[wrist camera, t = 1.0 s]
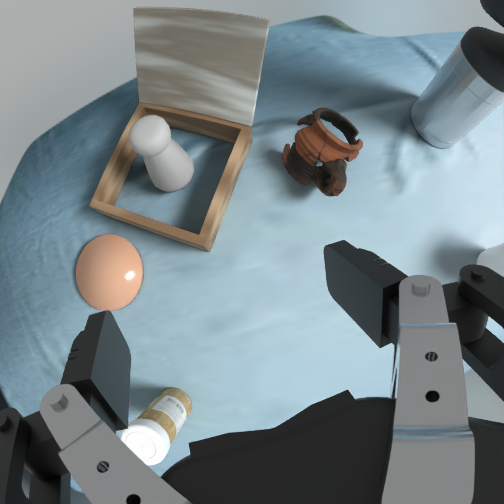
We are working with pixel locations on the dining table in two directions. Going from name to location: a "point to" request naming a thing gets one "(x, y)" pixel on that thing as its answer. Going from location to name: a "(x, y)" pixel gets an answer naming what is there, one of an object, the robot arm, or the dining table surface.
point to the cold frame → (191, 99)
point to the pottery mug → (322, 152)
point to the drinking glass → (493, 259)
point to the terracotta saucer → (109, 272)
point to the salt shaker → (161, 153)
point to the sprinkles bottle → (157, 426)
